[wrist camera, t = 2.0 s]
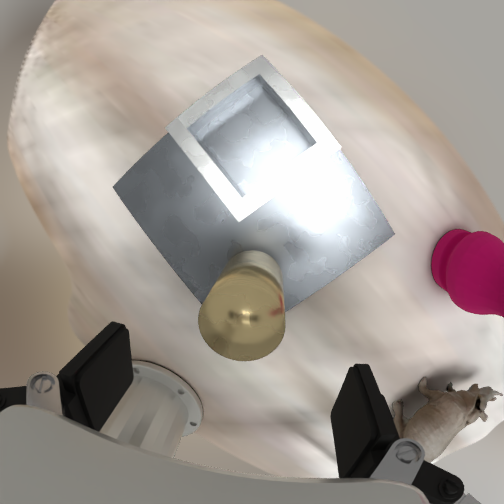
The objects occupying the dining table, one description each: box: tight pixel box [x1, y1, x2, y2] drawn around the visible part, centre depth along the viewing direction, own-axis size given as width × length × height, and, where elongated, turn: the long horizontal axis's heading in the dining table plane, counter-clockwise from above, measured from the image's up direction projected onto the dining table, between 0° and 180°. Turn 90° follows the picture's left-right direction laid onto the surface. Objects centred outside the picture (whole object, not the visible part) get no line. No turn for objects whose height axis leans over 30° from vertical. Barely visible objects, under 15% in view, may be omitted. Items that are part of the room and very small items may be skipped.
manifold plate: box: [113, 55, 395, 312], centre depth 22 cm, size 17×18×4 cm
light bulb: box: [198, 250, 285, 361], centre depth 20 cm, size 5×5×8 cm
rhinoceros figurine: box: [392, 377, 503, 463], centre depth 23 cm, size 8×14×15 cm
